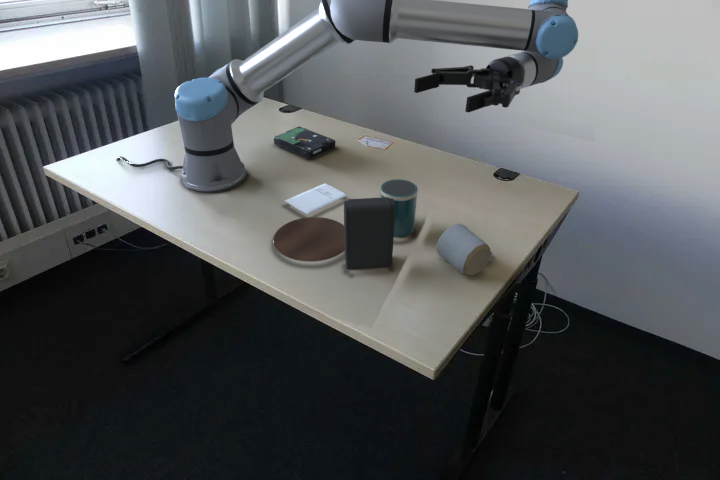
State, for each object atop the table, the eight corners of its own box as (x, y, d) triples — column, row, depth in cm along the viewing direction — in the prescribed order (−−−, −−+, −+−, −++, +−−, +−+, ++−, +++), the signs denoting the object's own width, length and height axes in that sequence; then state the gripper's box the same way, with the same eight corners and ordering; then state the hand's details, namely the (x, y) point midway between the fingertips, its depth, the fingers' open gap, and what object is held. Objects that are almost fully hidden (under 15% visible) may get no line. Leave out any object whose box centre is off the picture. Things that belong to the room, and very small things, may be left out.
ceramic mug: (463, 283, 97) (469, 250, 92) (433, 261, 102) (438, 229, 98) (501, 264, 102) (509, 232, 97) (471, 244, 107) (477, 213, 103)
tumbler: (374, 238, 109) (375, 192, 102) (385, 220, 114) (387, 176, 108) (408, 246, 106) (412, 200, 100) (418, 227, 112) (422, 182, 106)
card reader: (389, 259, 102) (393, 194, 94) (393, 272, 99) (397, 205, 91) (344, 262, 102) (343, 196, 93) (346, 275, 98) (345, 208, 90)
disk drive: (336, 149, 145) (299, 134, 153) (336, 139, 143) (299, 125, 151) (310, 161, 138) (273, 145, 146) (309, 151, 137) (272, 135, 144)
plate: (259, 256, 103) (258, 250, 102) (295, 216, 115) (294, 211, 115) (333, 274, 98) (333, 268, 98) (362, 231, 111) (362, 225, 110)
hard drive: (284, 206, 119) (324, 188, 126) (307, 220, 114) (347, 200, 121) (283, 200, 118) (324, 182, 125) (306, 213, 113) (347, 194, 120)
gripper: (555, 107, 105) (489, 133, 94) (462, 77, 121) (395, 96, 110) (564, 70, 101) (495, 93, 90) (466, 44, 116) (397, 60, 105)
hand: (440, 95), depth 100 cm, fingers open, 13 cm apart
